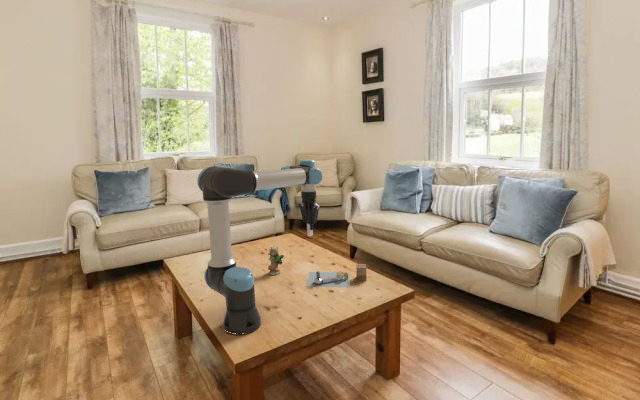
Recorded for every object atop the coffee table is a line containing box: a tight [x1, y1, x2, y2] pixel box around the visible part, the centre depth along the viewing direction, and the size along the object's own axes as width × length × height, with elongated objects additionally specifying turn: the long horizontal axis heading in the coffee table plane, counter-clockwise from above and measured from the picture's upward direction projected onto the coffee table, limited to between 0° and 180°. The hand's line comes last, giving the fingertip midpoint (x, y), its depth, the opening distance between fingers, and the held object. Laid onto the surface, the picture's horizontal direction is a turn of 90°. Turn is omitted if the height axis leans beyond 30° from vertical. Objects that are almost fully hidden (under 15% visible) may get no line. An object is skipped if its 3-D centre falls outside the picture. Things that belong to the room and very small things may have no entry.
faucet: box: [314, 275, 343, 285], centre depth 190 cm, size 15×4×2 cm, turn 109°
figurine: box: [267, 246, 284, 276], centre depth 204 cm, size 9×8×15 cm
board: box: [305, 270, 351, 288], centre depth 193 cm, size 19×22×7 cm
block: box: [355, 263, 367, 282], centre depth 192 cm, size 5×5×8 cm
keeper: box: [336, 270, 348, 280], centre depth 192 cm, size 5×5×4 cm
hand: (310, 235), depth 191 cm, fingers closed
